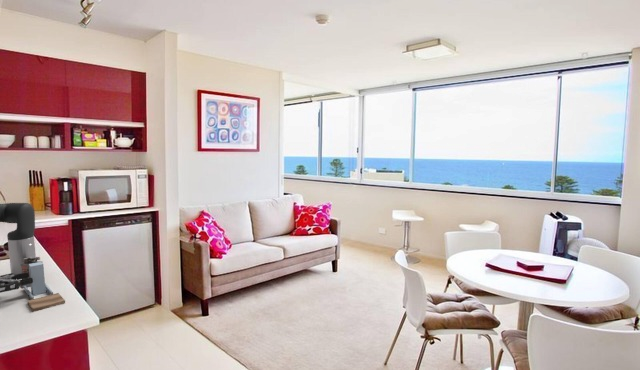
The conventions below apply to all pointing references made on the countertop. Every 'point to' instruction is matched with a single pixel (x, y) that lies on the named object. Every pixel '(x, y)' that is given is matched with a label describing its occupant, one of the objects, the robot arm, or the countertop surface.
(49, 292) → the channel
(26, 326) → the countertop surface
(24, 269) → the lighter
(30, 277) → the block
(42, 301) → the board
